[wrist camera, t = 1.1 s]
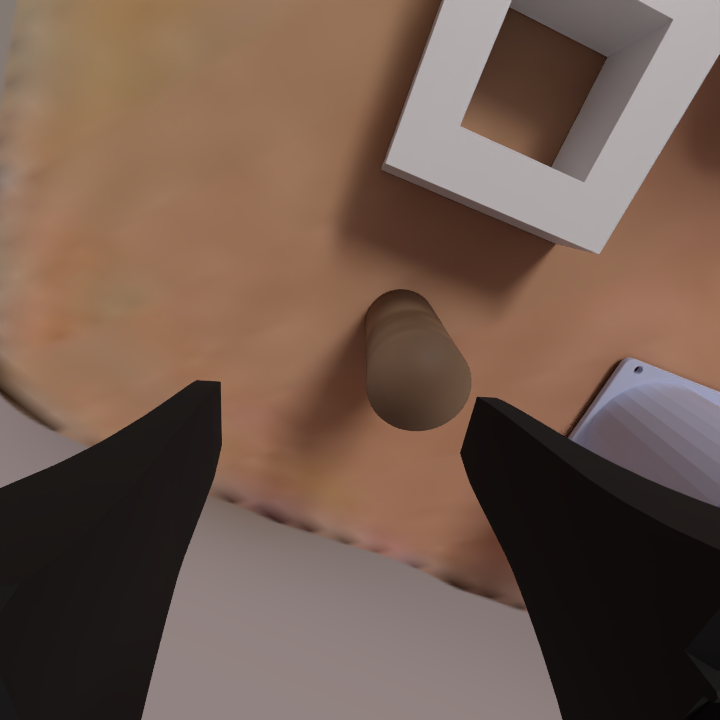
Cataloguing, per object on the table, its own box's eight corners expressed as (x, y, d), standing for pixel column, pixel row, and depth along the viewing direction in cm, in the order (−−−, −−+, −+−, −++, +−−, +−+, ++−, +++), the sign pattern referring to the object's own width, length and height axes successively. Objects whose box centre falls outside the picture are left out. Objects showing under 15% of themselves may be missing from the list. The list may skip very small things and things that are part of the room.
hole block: (680, 20, 17) (768, -29, 13) (556, 244, 21) (598, 254, 17) (474, -91, 16) (509, -180, 12) (380, 169, 19) (385, 163, 15)
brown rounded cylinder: (446, 304, 22) (490, 358, 14) (417, 365, 23) (443, 443, 16) (380, 278, 21) (390, 322, 14) (355, 342, 23) (351, 412, 15)
